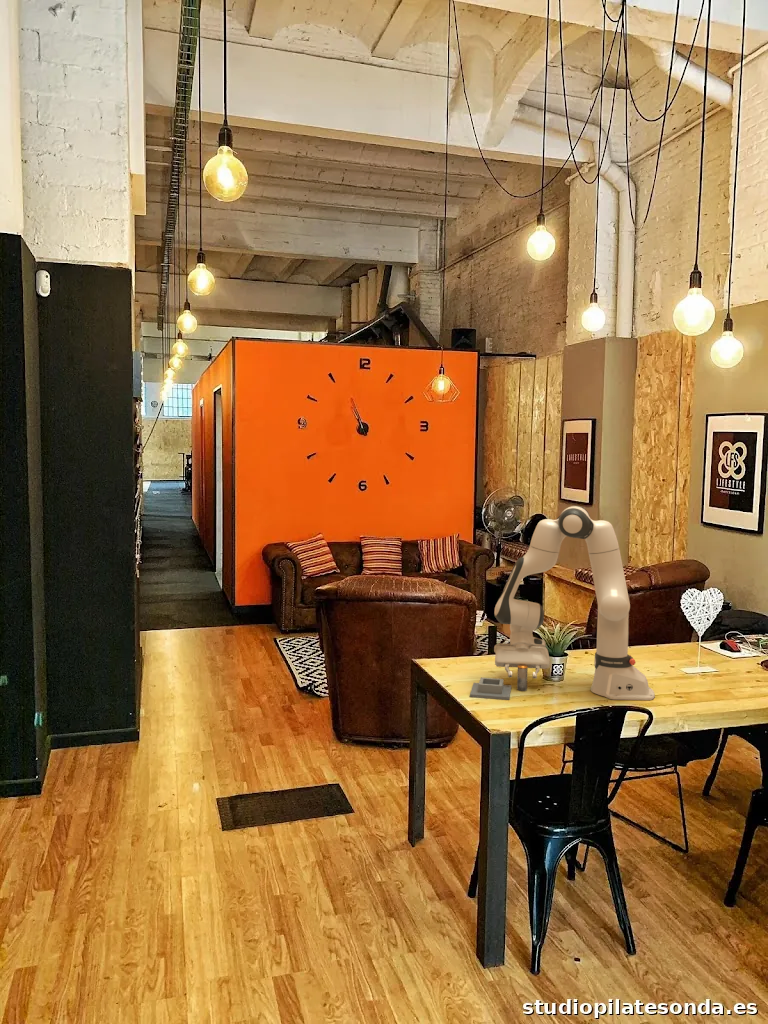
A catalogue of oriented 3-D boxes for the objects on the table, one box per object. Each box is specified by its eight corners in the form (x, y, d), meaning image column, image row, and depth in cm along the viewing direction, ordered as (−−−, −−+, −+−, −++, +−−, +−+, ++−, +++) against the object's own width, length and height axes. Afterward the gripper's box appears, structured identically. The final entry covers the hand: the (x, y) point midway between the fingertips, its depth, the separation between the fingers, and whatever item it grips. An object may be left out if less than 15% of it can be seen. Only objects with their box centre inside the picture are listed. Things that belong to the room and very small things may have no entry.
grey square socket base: (511, 687, 289) (511, 677, 288) (509, 700, 275) (509, 689, 275) (473, 685, 292) (473, 674, 291) (469, 697, 278) (470, 686, 278)
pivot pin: (527, 688, 288) (527, 664, 287) (526, 691, 285) (527, 667, 284) (517, 687, 289) (517, 664, 288) (516, 690, 285) (517, 666, 285)
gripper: (494, 638, 293) (494, 671, 285) (549, 641, 291) (550, 674, 282) (493, 647, 298) (493, 679, 289) (547, 649, 296) (549, 682, 287)
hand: (522, 677), depth 286 cm, fingers open, 8 cm apart
